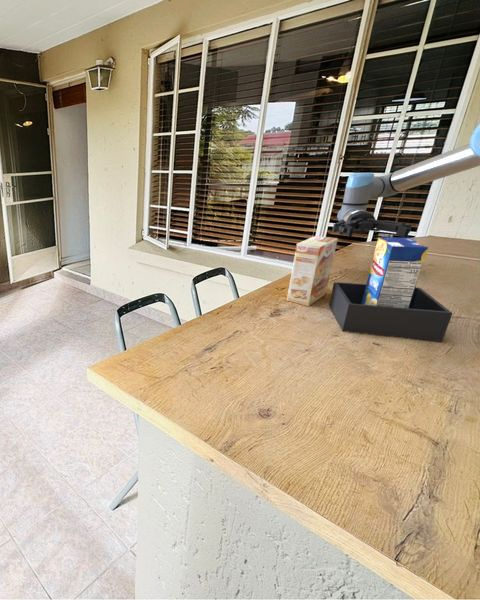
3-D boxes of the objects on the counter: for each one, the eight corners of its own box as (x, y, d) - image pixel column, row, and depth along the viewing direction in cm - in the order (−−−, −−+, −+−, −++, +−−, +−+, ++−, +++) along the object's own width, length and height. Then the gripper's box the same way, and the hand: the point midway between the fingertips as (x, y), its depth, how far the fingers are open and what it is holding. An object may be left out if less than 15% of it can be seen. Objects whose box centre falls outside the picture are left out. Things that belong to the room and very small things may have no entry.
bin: (412, 313, 102) (420, 287, 100) (441, 342, 87) (452, 313, 84) (328, 305, 111) (333, 282, 108) (342, 331, 95) (348, 304, 92)
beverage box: (370, 325, 95) (392, 246, 87) (359, 310, 104) (378, 237, 96) (402, 328, 92) (428, 247, 84) (388, 312, 101) (410, 237, 93)
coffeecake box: (309, 306, 111) (321, 246, 104) (285, 300, 116) (295, 243, 109) (326, 294, 119) (339, 237, 112) (304, 289, 125) (314, 235, 117)
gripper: (400, 232, 120) (428, 246, 102) (315, 231, 130) (326, 243, 112) (406, 210, 117) (436, 220, 100) (319, 210, 127) (331, 220, 109)
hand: (378, 233), depth 106 cm, fingers open, 13 cm apart
